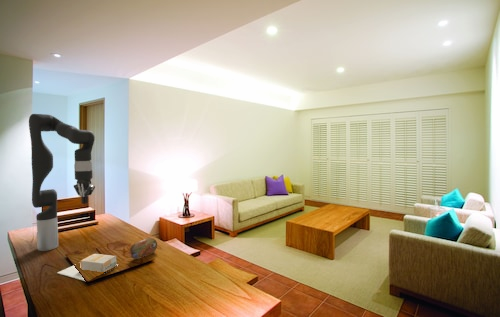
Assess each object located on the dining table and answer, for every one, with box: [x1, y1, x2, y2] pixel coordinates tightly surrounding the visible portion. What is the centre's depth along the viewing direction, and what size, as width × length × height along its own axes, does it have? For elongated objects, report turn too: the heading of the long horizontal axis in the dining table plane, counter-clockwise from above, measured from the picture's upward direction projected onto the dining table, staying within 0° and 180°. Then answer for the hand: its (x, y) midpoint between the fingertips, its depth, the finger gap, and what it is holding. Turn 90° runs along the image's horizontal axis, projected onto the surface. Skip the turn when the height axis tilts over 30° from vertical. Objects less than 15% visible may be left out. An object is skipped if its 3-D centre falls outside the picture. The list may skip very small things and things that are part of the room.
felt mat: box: [56, 264, 119, 282], centre depth 122 cm, size 20×16×1 cm
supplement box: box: [79, 253, 117, 272], centre depth 122 cm, size 8×5×13 cm
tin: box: [129, 237, 158, 260], centre depth 136 cm, size 15×3×8 cm, turn 147°
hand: (84, 203), depth 131 cm, fingers closed
